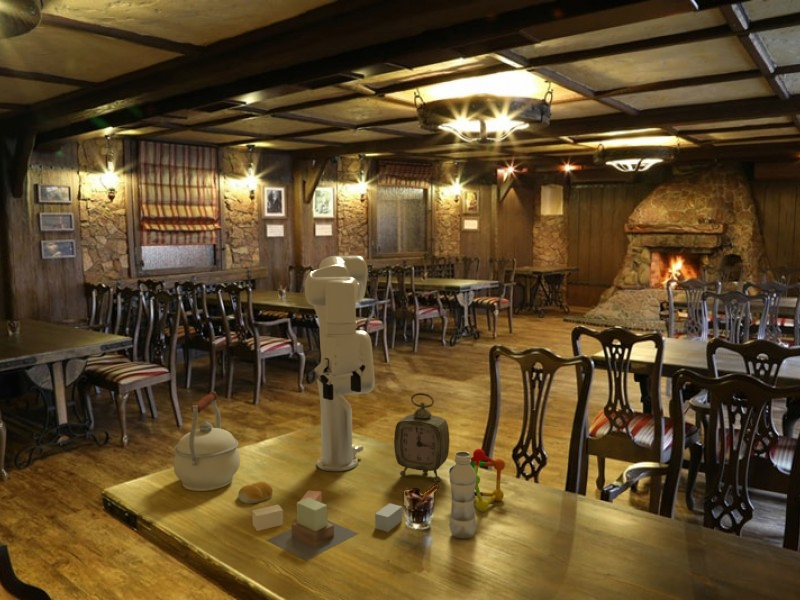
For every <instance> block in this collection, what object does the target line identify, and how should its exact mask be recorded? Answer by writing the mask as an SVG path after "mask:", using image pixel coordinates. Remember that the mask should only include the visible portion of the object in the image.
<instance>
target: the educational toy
mask: <svg viewBox="0 0 800 600" xmlns="http://www.w3.org/2000/svg"><path fill="white" fill-rule="evenodd" d="M483 460H485V461H486V462H485V461H483ZM470 465H471V466H472V467H473V469H474V471H475V473H476V485H475V493H474V503H475V504H476V505H475V506H476V508H477V510H478V511H479V512H487V511H488V509H489V504H490V503H492V502H493V501H496V502H500V501H502V500H503V499H504V495H505V494H504V491H502V490H501V477H502V475H501V474H502V471H503V470H504V469H505V467H506V463H505V461H504V460H503V459H502V458H496V459H493V458H491V457H489V456H487V455H486V452H485V451H484V449H481V448H476V449H475V450H474V451H473V453H472V456H471V463H470ZM454 466H455V465H453V466H451V467H450V468H449V470H448V472H449V475H450V472H451V470H452V468H453V467H454ZM480 466H481V467H493V468H494V470H496V483H495V485H496V487H495V489H494V490H493V491H492V492H486V491H485V492H483V491H482V492H481V490H480V487H479V484H480V482H481V478H480V476H479V474H478V471H479V467H480ZM483 497H489V498H487V499H484V498H483Z"/></svg>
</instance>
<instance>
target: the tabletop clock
mask: <svg viewBox="0 0 800 600" xmlns="http://www.w3.org/2000/svg"><path fill="white" fill-rule="evenodd" d="M416 396H425V397H427V398H428V399H431V403H430V404H427V405H426V404H425V402H423V401H422V402H420V404H418V403H416V402H415V401H414V398H415V397H416ZM410 401H411V403H412V405H413V406H415V407H418V408H417V409H416V410H415V411H414V413H411V414H407V415H406V416H404V417H403V418H402V419H400V420H399V421H398V422H397V423H396V425H395V428H394V440H393V443H394V455H395V456H394V457H395V460H396V462H397V464H398V465H399V466H401V467H403V468H404V469H403V470H402V471H400V472H399V474H400V476H401V477H406V471H407V470H408V469H411V470H416V471H422V473H424V474H428V472H433V473H434V481H435V482H436V483H438V482H440V481H441V477H440V476H439V475H438V472H437V471H438V470H439V469H440V467H442V466H443V464H444V463H445V462H447V459H448V457H449V452H450V443H451V442H450V441H451V440H450V430H449V424H448V422H447V420H446V419H445V418H443V417H441V416H438V415H432V413H431V411H430V410H429V409H428V408H431V407H432V406H433V405H434V404H435V401H434V398H433V396H431V395H430V394H428V393H424V392H418V393H414V394H413V395H412V396H411V398H410Z"/></svg>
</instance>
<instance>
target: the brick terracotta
mask: <svg viewBox="0 0 800 600" xmlns="http://www.w3.org/2000/svg"><path fill="white" fill-rule="evenodd" d="M322 494H323V493H322V491H320V490H319V491H317V490H307V492H306V493H305V494H304V495H303V496H302V498H301V499H300V500H299V501H301V500H304V499H306V498H308V497H309V498H311V499H313V500H316V501H318V502H321V503H323V502H322V500H323V498H322Z"/></svg>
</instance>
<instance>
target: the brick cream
mask: <svg viewBox="0 0 800 600" xmlns="http://www.w3.org/2000/svg"><path fill="white" fill-rule="evenodd" d="M251 513H252V514H251V515H252V526H253V527H254V529H255V530H256V531H257V532H258V531H262V530H267V529H271V528H275V527H279V526H283V525H284V510H283V509H282V507H281V506H280V505H279V504H274V505H270V506H265V507H260V508H256V509H252V510H251Z"/></svg>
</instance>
